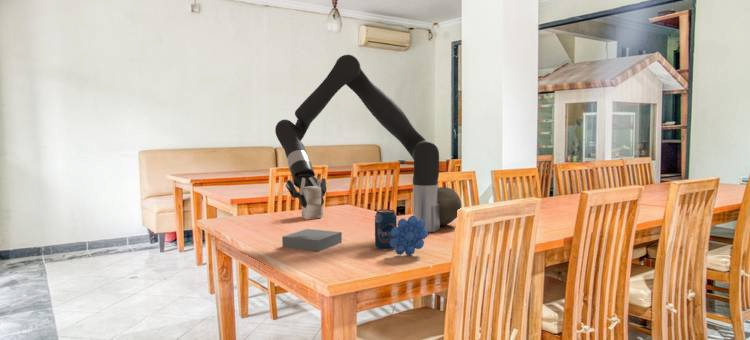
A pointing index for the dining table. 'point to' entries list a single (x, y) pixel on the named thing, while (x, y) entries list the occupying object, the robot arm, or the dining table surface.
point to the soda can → (384, 228)
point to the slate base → (312, 240)
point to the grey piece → (312, 202)
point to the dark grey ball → (448, 205)
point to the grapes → (408, 235)
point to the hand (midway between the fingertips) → (313, 205)
